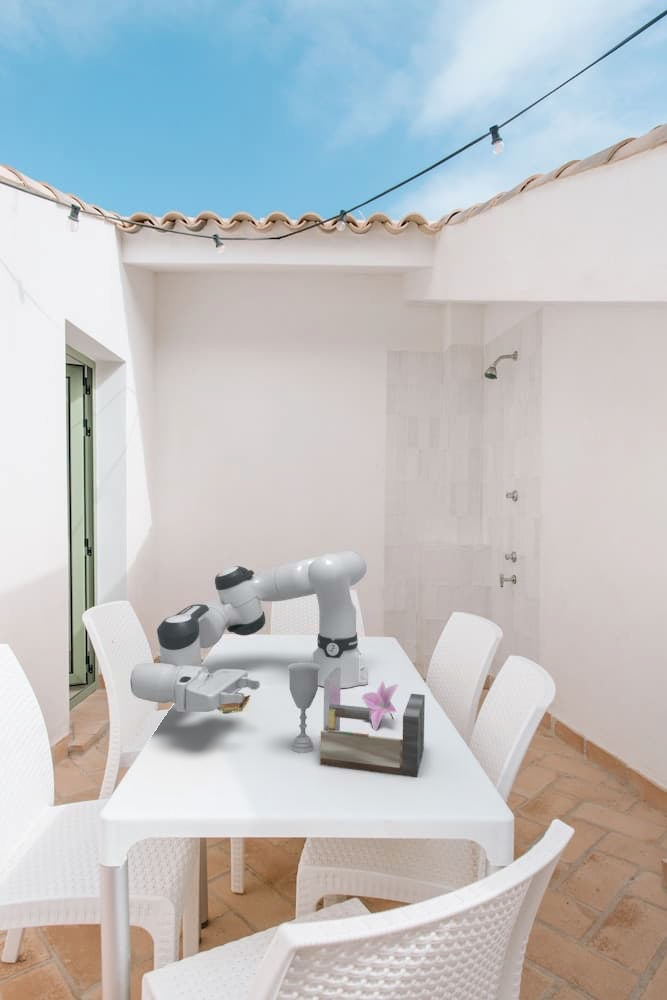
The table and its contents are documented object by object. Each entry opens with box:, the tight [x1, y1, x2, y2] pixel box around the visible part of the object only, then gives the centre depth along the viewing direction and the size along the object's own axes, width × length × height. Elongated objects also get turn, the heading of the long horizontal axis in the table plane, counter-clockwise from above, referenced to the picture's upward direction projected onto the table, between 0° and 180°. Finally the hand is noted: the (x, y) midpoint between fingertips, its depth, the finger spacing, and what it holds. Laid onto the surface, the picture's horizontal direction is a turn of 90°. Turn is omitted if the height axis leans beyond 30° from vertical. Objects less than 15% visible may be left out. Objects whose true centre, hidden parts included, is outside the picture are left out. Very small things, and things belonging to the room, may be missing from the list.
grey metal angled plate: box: [322, 667, 371, 731], centre depth 130 cm, size 11×9×15 cm
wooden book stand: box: [319, 693, 426, 778], centre depth 129 cm, size 14×20×12 cm
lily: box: [361, 680, 399, 731], centre depth 149 cm, size 12×12×10 cm
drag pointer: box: [328, 709, 336, 731], centre depth 126 cm, size 1×1×9 cm
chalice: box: [287, 661, 320, 754], centre depth 133 cm, size 7×7×18 cm
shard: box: [218, 694, 251, 714], centre depth 158 cm, size 11×8×2 cm
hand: (250, 691), depth 136 cm, fingers open, 8 cm apart
